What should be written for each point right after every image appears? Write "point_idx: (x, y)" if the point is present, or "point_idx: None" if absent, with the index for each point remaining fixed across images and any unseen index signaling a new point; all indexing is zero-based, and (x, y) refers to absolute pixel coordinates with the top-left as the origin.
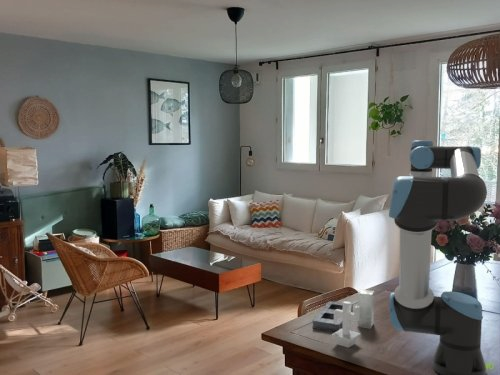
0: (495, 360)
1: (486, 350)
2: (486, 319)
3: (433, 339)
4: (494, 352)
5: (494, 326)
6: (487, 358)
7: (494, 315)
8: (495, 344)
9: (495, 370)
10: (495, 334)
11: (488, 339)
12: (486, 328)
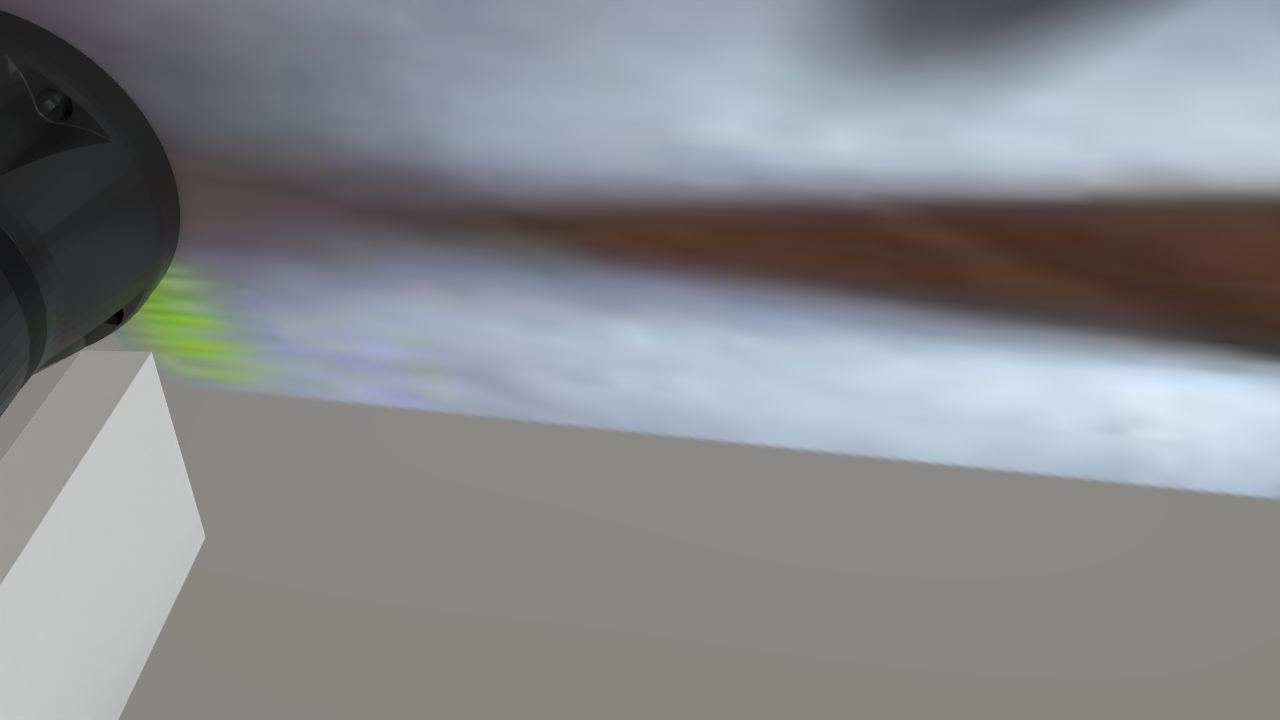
0: (309, 397)
1: (456, 367)
2: (1130, 429)
3: (504, 9)
4: (445, 407)
5: (973, 461)
6: (315, 359)
7: (1239, 488)
8: (597, 427)
9: None
10: (799, 448)
11: (678, 398)
12: (913, 409)
